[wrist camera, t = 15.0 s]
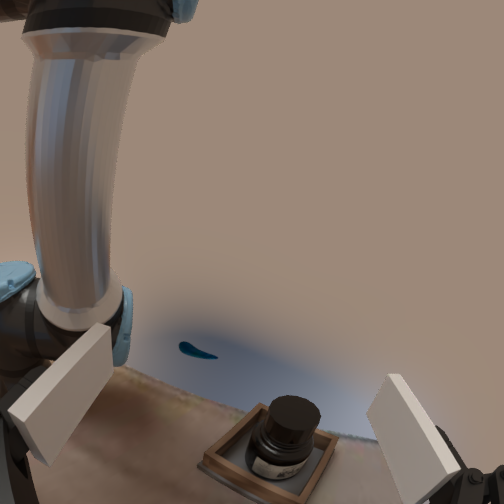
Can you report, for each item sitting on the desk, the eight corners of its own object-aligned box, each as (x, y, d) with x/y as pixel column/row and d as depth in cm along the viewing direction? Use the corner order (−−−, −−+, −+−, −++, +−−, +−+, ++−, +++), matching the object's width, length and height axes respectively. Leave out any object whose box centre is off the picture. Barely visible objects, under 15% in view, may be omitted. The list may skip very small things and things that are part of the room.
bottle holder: (196, 467, 30) (198, 452, 29) (253, 416, 43) (258, 399, 42) (293, 519, 22) (305, 508, 21) (332, 451, 36) (342, 436, 35)
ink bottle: (251, 487, 27) (272, 443, 24) (234, 444, 35) (248, 393, 32) (312, 474, 30) (343, 427, 27) (290, 436, 38) (312, 386, 35)
